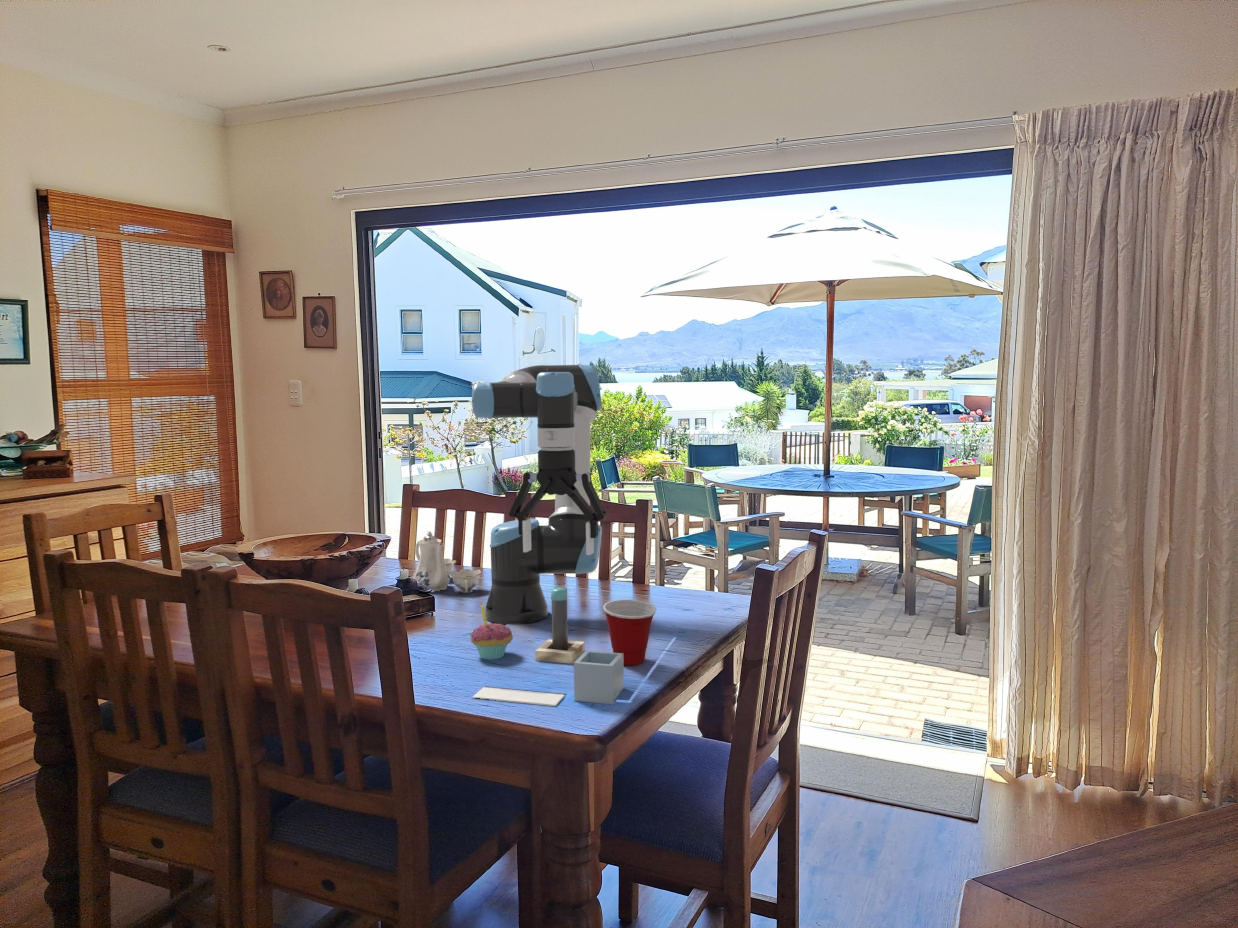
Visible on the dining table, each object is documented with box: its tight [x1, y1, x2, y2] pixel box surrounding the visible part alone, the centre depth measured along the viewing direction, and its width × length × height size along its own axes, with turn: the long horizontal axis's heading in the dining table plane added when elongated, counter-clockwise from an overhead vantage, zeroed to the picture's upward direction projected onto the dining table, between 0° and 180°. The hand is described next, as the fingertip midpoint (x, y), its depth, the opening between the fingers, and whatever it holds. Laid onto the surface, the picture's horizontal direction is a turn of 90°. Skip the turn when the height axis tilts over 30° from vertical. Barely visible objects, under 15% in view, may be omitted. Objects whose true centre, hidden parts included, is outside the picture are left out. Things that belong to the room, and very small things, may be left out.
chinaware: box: [411, 530, 482, 594], centre depth 239 cm, size 28×17×17 cm, turn 40°
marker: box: [550, 586, 569, 650], centre depth 177 cm, size 3×3×14 cm
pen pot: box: [573, 649, 625, 705], centre depth 156 cm, size 7×7×7 cm
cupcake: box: [470, 601, 514, 660], centre depth 178 cm, size 9×8×12 cm
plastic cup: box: [602, 599, 658, 667], centre depth 173 cm, size 11×11×12 cm
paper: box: [472, 685, 567, 707], centre depth 161 cm, size 16×14×1 cm
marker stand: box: [534, 638, 586, 665], centre depth 178 cm, size 8×8×2 cm
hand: (558, 552), depth 175 cm, fingers open, 13 cm apart
